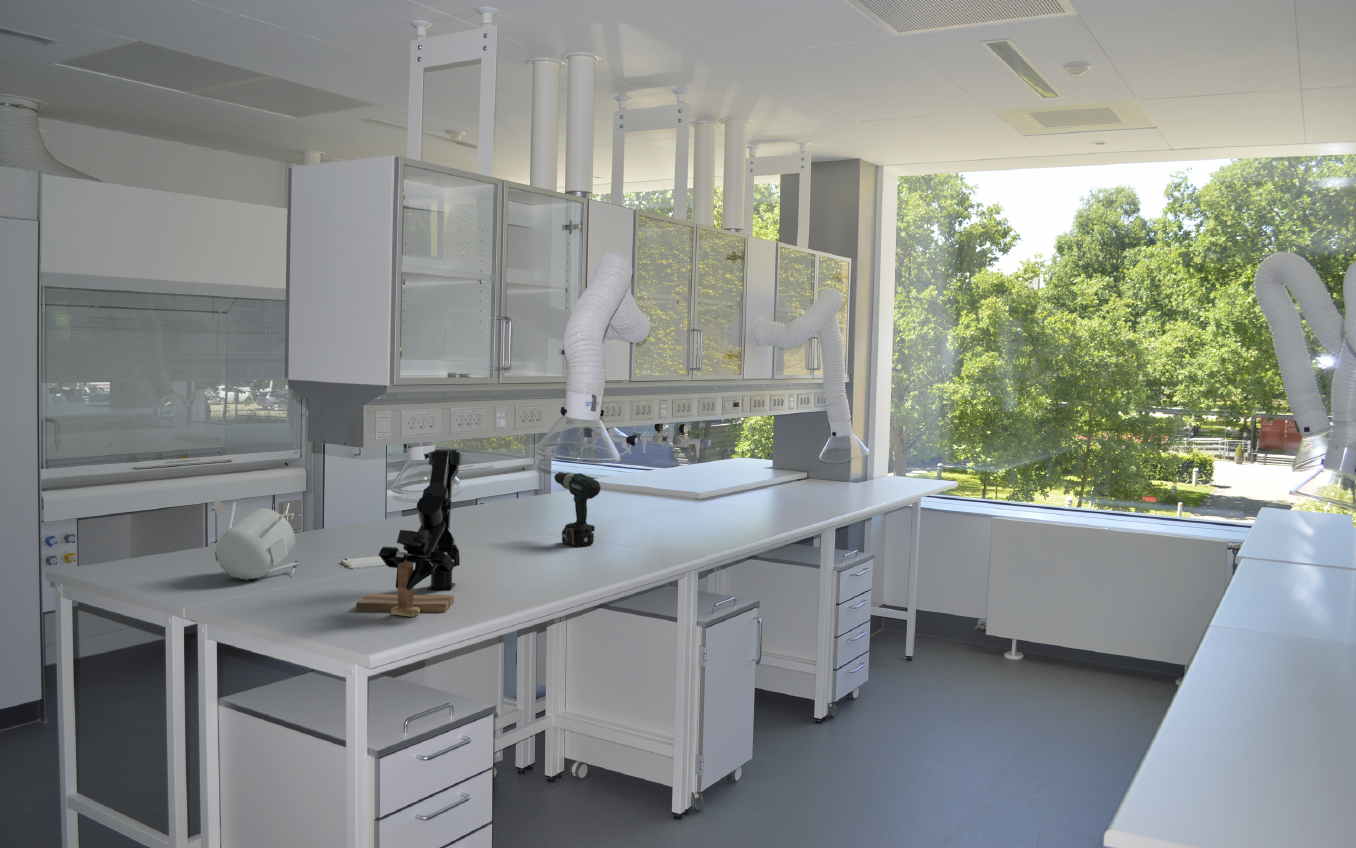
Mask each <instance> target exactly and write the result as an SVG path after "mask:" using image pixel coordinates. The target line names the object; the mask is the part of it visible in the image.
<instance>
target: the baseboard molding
mask: <svg viewBox="0 0 1356 848" xmlns="http://www.w3.org/2000/svg"><path fill="white" fill-rule="evenodd" d="M341 562H342V563H344V564H345V565H347V566H348V567H350V568H356V569H360V568H359V567H366V568H374V567H373V566H376V567H384V566H385V567H386V566H387V565H386V564H385V563H384V561H383V560H382V559H381V557H380V556H379V555H378V556H367V557H359V558H358V557H357V558H346V557H344V558H343V557H341V559H340V563H341ZM342 563H341V564H342ZM344 564H343V565H344ZM345 565H344V566H345ZM347 566H346V567H347ZM348 567H347V568H348ZM350 568H349V569H350Z"/></svg>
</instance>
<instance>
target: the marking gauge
mask: <svg viewBox="0 0 1356 848" xmlns="http://www.w3.org/2000/svg"><path fill="white" fill-rule="evenodd" d="M413 571H414V563H410V562H403V563H399V564H398V589H397V595H398V606H396V607H393V608H391V611H390V612H391V615H396V616H401V617H402V616H404V617H411V618H412V617H416V616H418V615H420V614H421V612H420V608H418V607H413V595H414V587H412V588H411V589H410V590H407V589H406V586H407V583H408V581H409V579H410V577H411V575H412V573H413Z"/></svg>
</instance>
